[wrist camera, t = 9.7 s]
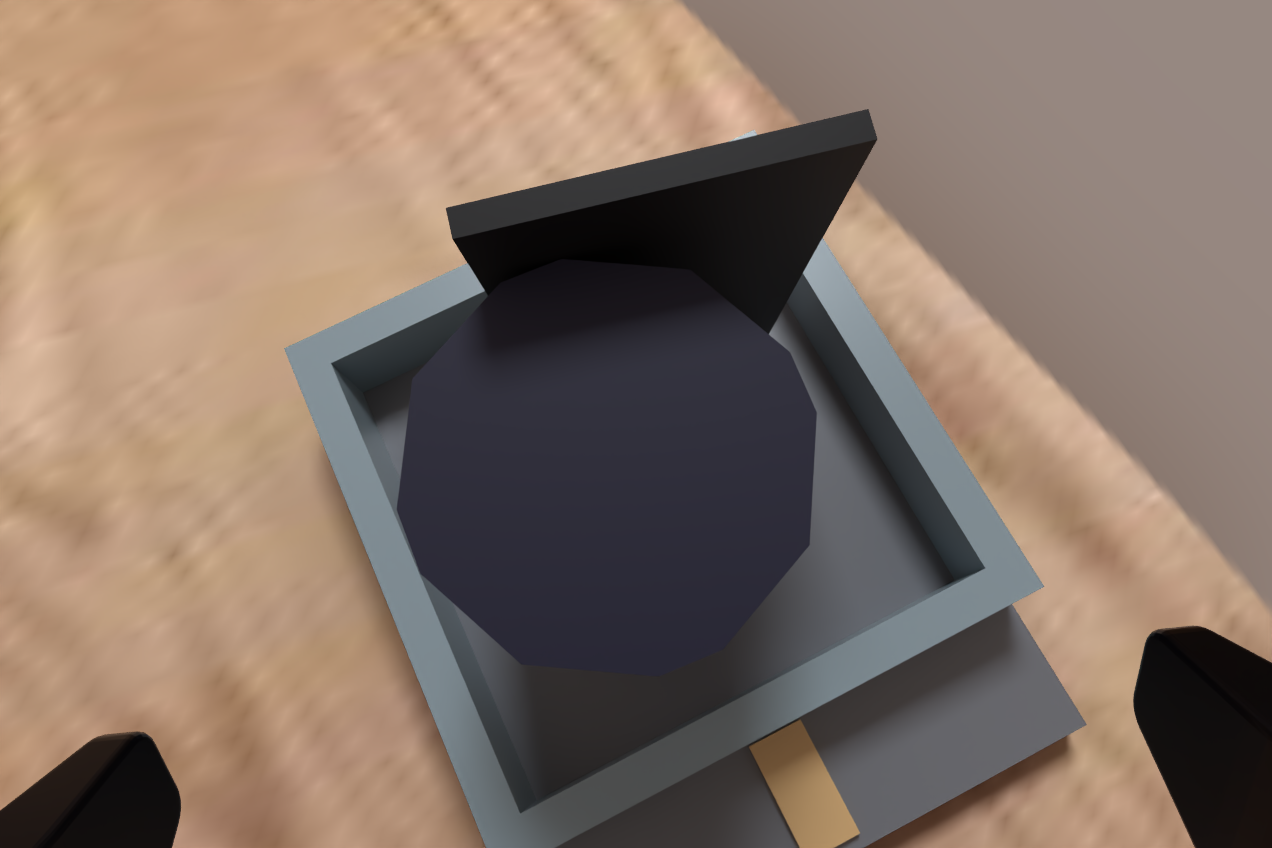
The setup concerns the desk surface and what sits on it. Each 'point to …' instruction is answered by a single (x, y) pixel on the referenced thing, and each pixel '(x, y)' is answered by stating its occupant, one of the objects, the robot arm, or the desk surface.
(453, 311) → the tray
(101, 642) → the desk surface
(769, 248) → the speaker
